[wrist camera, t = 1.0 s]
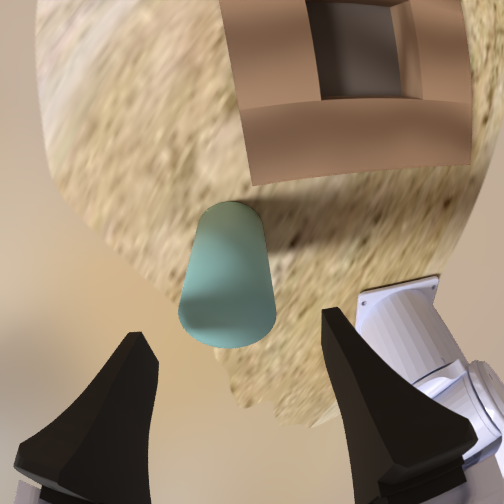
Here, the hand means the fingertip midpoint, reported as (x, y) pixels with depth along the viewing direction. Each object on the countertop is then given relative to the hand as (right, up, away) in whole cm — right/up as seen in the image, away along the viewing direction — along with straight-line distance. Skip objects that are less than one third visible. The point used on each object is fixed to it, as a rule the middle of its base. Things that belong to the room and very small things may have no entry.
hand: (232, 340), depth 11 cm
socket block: (+6, +15, +2) cm, 17 cm away
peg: (-1, +5, +9) cm, 10 cm away
